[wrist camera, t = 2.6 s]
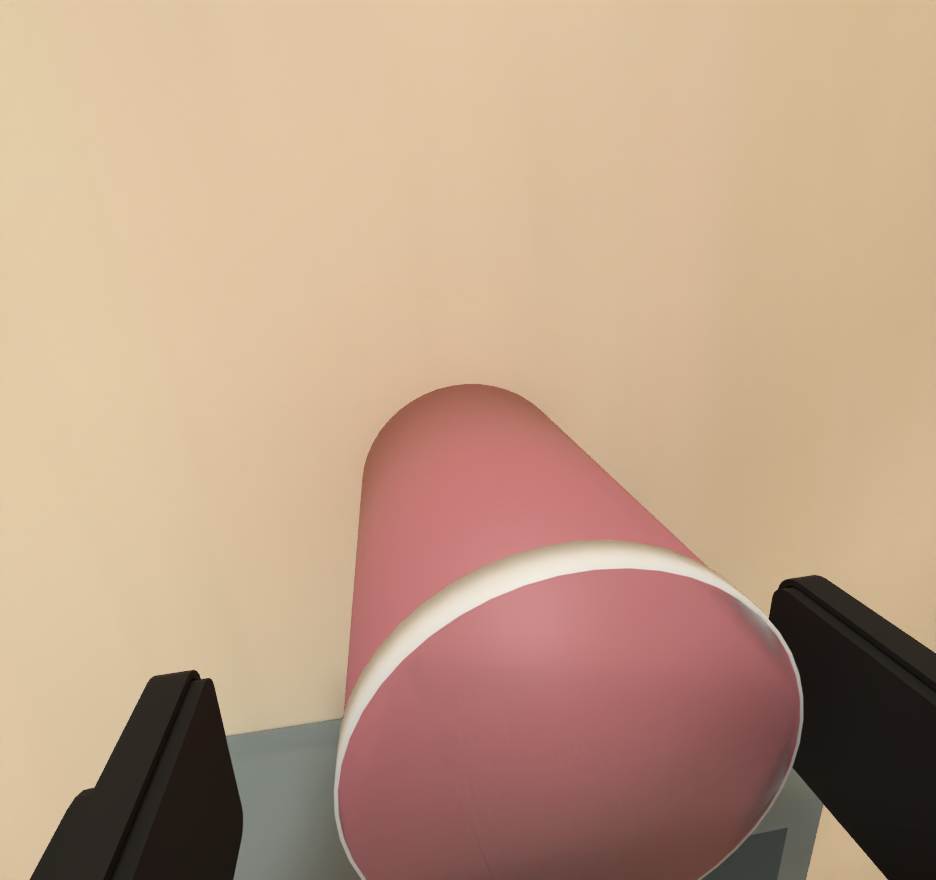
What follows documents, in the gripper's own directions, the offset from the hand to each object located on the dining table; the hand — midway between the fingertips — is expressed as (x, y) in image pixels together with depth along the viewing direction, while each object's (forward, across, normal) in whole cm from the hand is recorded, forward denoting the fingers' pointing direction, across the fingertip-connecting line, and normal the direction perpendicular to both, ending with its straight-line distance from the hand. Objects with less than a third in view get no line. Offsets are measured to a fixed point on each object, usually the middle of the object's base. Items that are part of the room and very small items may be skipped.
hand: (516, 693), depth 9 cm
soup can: (+8, -1, 0) cm, 8 cm away
